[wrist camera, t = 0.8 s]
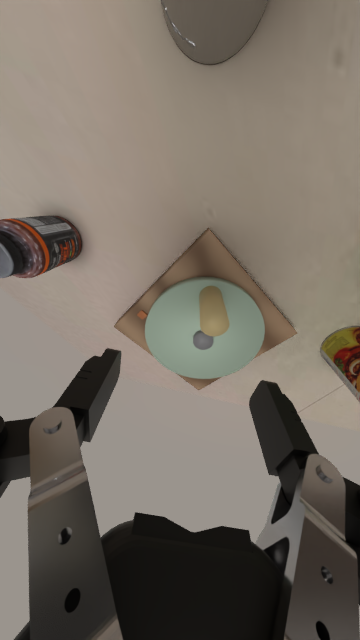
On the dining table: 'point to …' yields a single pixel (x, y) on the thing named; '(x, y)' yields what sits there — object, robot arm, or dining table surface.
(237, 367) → the dial
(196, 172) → the dining table surface
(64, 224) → the supplement bottle
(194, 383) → the base board
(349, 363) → the canned food
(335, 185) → the dining table surface
